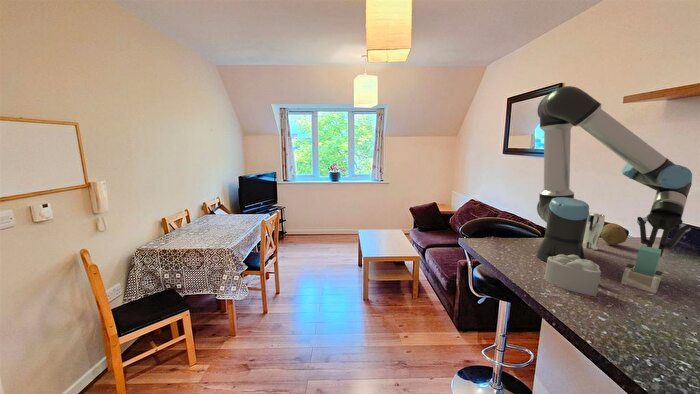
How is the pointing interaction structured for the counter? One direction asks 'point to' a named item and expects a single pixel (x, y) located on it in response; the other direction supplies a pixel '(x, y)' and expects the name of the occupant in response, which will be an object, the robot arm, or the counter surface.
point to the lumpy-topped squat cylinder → (573, 273)
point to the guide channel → (641, 279)
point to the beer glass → (593, 230)
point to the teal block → (647, 261)
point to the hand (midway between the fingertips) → (650, 262)
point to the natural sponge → (613, 234)
